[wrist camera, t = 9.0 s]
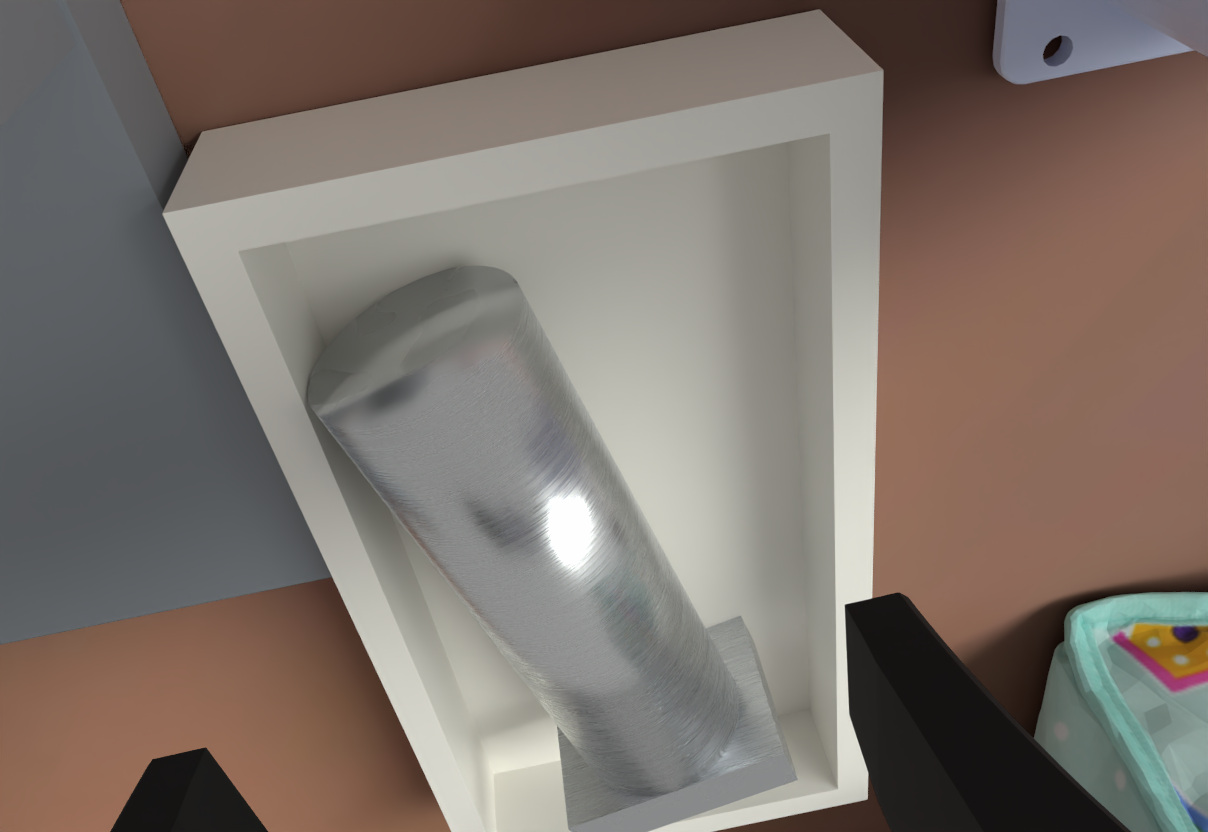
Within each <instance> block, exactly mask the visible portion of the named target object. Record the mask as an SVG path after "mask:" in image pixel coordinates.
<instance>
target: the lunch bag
mask: <svg viewBox="0 0 1208 832" xmlns="http://www.w3.org/2000/svg"><path fill="white" fill-rule="evenodd" d="M1064 630H1065V641H1063V642H1062V643H1060V644H1059V645H1058V646H1057V648H1056V649H1055V651H1054V655H1053V658H1052V662H1051V666H1050V670H1049V674H1048V678H1047V683H1046V688H1045V693H1044V698H1043V703H1042V707H1041V710H1040V713H1039V717H1038V722H1037V726H1036V731H1035V735H1034V739H1035V740H1036V741H1037V742H1038V743H1039V744H1040V745H1041V746H1042V747H1043V748H1044V749H1045V750H1046V751H1047V752H1048V753H1049V754H1050V755H1051V756H1052V757H1053V758H1054V759H1055V760H1056V761H1057V762H1058V763H1059V764H1060V765H1061V766H1062V767H1063V768H1064V769H1065V770H1066V771H1067V772H1068V773H1069V774H1070V775H1071V776H1072V777H1073V778H1074V779H1075V780H1076V781H1077V782H1078V783H1079V784H1080V785H1081V786H1082V787H1083V788H1085V789H1086V790H1087V791H1088V792H1089V793H1090V794H1091V795H1092V796H1093V797H1094V798H1095V799H1096V800H1097V801H1098V802H1100V803H1101V804H1102V805H1103V806H1104V807H1105V808H1106V809H1107V810H1108V811H1109V812H1110V813H1112V814H1113V815H1114V816H1115V817H1116V818H1117V819H1118V820H1119V821H1120V822H1121V823H1122V824H1123V825H1125V826H1126V827H1127V828H1128V829H1129V830H1130V831H1131V832H1208V592H1150V593H1137V594H1124V595H1116V596H1110V597H1106V598H1103V599H1099V600H1096V601H1092V602H1089V603H1085V604H1082V605H1078V606H1076V607H1074V608H1073V609H1071V610H1070V611H1069V612H1068V613H1067V616H1066V618H1065V621H1064Z"/></svg>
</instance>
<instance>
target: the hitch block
mask: <svg viewBox="0 0 1208 832" xmlns="http://www.w3.org/2000/svg"><path fill="white" fill-rule="evenodd" d="M187 161H188V157H187V155H186V152H185V150H184V148H183V146H182V143H181V141H180V139H179V136H178V134H177V132H176V129H175V127H174V125H173V122H172V120H171V118H170V116H169V113H168V111H167V109H166V106H165V104H164V102H163V99H162V97H161V95H160V93H159V90H158V88H157V86H156V83H155V81H154V79H153V76H152V74H151V72H150V70H149V67H148V65H147V63H146V60H145V58H144V56H143V53H142V51H141V49H140V46H139V44H138V42H137V40H136V37H135V35H134V33H133V30H132V28H131V26H130V23H129V21H128V19H127V17H126V14H125V12H124V10H123V7H122V5H121V3H120V0H0V645H1V644H6V643H11V642H16V641H21V640H26V639H30V638H35V637H40V636H45V635H50V634H55V633H60V632H65V631H70V630H75V629H80V628H85V627H90V626H95V625H99V624H104V623H109V622H114V621H119V620H124V619H129V618H134V617H139V616H144V615H149V614H154V613H159V612H163V611H168V610H173V609H178V608H183V607H188V606H193V605H198V604H203V603H208V602H213V601H218V600H223V599H228V598H232V597H237V596H242V595H247V594H252V593H257V592H262V591H267V590H272V589H277V588H282V587H287V586H292V585H297V584H301V583H306V582H311V581H316V580H321V579H326V578H331V577H332V575H331V573H330V571H329V569H328V567H327V565H326V563H325V560H324V558H323V556H322V554H321V552H320V550H319V548H318V545H317V543H316V541H315V539H314V537H313V535H312V533H311V531H310V528H309V526H308V524H307V522H306V520H305V518H304V516H303V513H302V511H301V509H300V507H299V505H298V503H297V501H296V498H295V496H294V494H293V492H292V490H291V488H290V486H289V484H288V481H287V479H286V477H285V475H284V473H283V471H282V469H281V466H280V464H279V462H278V460H277V458H276V456H275V454H274V452H273V449H272V447H271V445H270V443H269V441H268V439H267V437H266V434H265V432H264V430H263V428H262V426H261V424H260V422H259V419H258V417H257V415H256V413H255V411H254V409H253V407H252V405H251V402H250V400H249V398H248V396H247V394H246V392H245V390H244V387H243V385H242V383H241V381H240V379H239V377H238V375H237V372H236V370H235V368H234V366H233V364H232V362H231V360H230V358H229V355H228V353H227V351H226V349H225V347H224V345H223V343H222V340H221V338H220V336H219V334H218V332H217V330H216V328H215V326H214V323H213V321H212V319H211V317H210V315H209V313H208V311H207V308H206V306H205V304H204V302H203V300H202V298H201V296H200V293H199V291H198V289H197V287H196V285H195V283H194V281H193V279H192V276H191V274H190V272H189V270H188V268H187V266H186V264H185V261H184V259H183V257H182V255H181V253H180V251H179V249H178V246H177V244H176V242H175V240H174V238H173V236H172V234H171V232H170V229H169V227H168V225H167V223H166V221H165V219H164V217H163V214H162V213H163V211H164V209H165V207H166V205H167V203H168V201H169V199H170V196H171V194H172V192H173V190H174V188H175V186H176V184H177V182H178V180H179V178H180V176H181V174H182V172H183V170H184V168H185V166H186V163H187Z"/></svg>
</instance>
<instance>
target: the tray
mask: <svg viewBox="0 0 1208 832" xmlns="http://www.w3.org/2000/svg"><path fill="white" fill-rule="evenodd" d="M883 73H884V70H883V69H882V68H881V67H880V66H879V65H878V64H876V63H875V62H874V61H873V60H872V59H871V58H870V57H869V56H868V55H867V54H866V53H865V52H864V51H863V50H862V49H861V48H860V47H859V46H858V45H857V44H856V43H854V42H853V41H852V40H851V39H850V38H849V37H848V36H847V35H846V34H845V33H844V32H843V31H842V30H841V29H840V28H839V27H838V26H837V25H836V24H835V23H833V22H832V21H831V20H830V19H829V18H828V17H827V16H826V15H825V14H824V13H823V12H822V11H821V10H820V9H818V10H813V11H808V12H803V13H798V14H793V15H788V16H783V17H778V18H773V19H768V20H763V21H758V22H753V23H748V24H743V25H738V26H733V27H727V28H722V29H717V30H712V31H707V32H702V33H697V34H692V35H687V36H682V37H677V38H672V39H667V40H662V41H657V42H652V43H647V44H642V45H637V46H632V47H627V48H621V49H616V50H611V51H606V52H601V53H596V54H591V55H586V56H581V57H576V58H571V59H566V60H561V61H556V62H551V63H546V64H541V65H536V66H531V67H526V68H521V69H515V70H510V71H505V72H500V73H495V74H490V75H485V76H480V77H475V78H470V79H465V80H460V81H455V82H450V83H445V84H440V85H435V86H430V87H425V88H420V89H415V90H409V91H404V92H399V93H394V94H389V95H384V96H379V97H374V98H369V99H364V100H359V101H354V102H349V103H344V104H339V105H334V106H329V107H324V108H319V109H314V110H308V111H303V112H298V113H293V114H288V115H283V116H278V117H273V118H268V119H263V120H258V121H253V122H248V123H243V124H238V125H233V126H228V127H223V128H218V129H213V130H208V131H202V133H201V135H200V137H199V139H198V141H197V143H196V145H195V147H194V149H193V151H192V153H191V155H190V157H189V159H188V161H187V163H186V166H185V168H184V170H183V172H182V174H181V176H180V178H179V180H178V182H177V184H176V186H175V188H174V190H173V192H172V194H171V196H170V199H169V201H168V203H167V205H166V207H165V209H164V211H163V213H162V214H163V217H164V219H165V221H166V223H167V225H168V227H169V229H170V232H171V234H172V236H173V238H174V240H175V242H176V244H177V246H178V249H179V251H180V253H181V255H182V257H183V259H184V261H185V264H186V266H187V268H188V270H189V272H190V274H191V276H192V279H193V281H194V283H195V285H196V287H197V289H198V291H199V293H200V296H201V298H202V300H203V302H204V304H205V306H206V308H207V311H208V313H209V315H210V317H211V319H212V321H213V323H214V326H215V328H216V330H217V332H218V334H219V336H220V338H221V340H222V343H223V345H224V347H225V349H226V351H227V353H228V355H229V358H230V360H231V362H232V364H233V366H234V368H235V370H236V372H237V375H238V377H239V379H240V381H241V383H242V385H243V387H244V390H245V392H246V394H247V396H248V398H249V400H250V402H251V405H252V407H253V409H254V411H255V413H256V415H257V417H258V419H259V422H260V424H261V426H262V428H263V430H264V432H265V434H266V437H267V439H268V441H269V443H270V445H271V447H272V449H273V452H274V454H275V456H276V458H277V460H278V462H279V464H280V466H281V469H282V471H283V473H284V475H285V477H286V479H287V481H288V484H289V486H290V488H291V490H292V492H293V494H294V496H295V498H296V501H297V503H298V505H299V507H300V509H301V511H302V513H303V516H304V518H305V520H306V522H307V524H308V526H309V528H310V531H311V533H312V535H313V537H314V539H315V541H316V543H317V545H318V548H319V550H320V552H321V554H322V556H323V558H324V560H325V563H326V565H327V567H328V569H329V571H330V573H331V575H332V577H333V580H334V582H335V584H336V586H337V588H338V590H339V592H340V595H341V597H342V599H343V601H344V603H345V605H346V607H347V610H348V612H349V614H350V616H351V618H352V620H353V622H354V624H355V627H356V629H357V631H358V633H359V635H360V637H361V639H362V642H363V644H364V646H365V648H366V650H367V652H368V654H369V657H370V659H371V661H372V663H373V665H374V667H375V669H376V671H377V674H378V676H379V678H380V680H381V682H382V684H383V686H384V689H385V691H386V693H387V695H388V697H389V699H390V701H391V703H392V706H393V708H394V710H395V712H396V714H397V716H398V718H399V721H400V723H401V725H402V727H403V729H404V731H405V733H406V736H407V738H408V740H409V742H410V744H411V746H412V748H413V750H414V753H415V755H416V757H417V759H418V761H419V763H420V765H421V768H422V770H423V772H424V774H425V776H426V778H427V780H428V782H429V785H430V787H431V789H432V791H433V793H434V795H435V797H436V800H437V802H438V804H439V806H440V808H441V810H442V812H443V815H444V817H445V819H446V821H447V823H448V825H449V827H450V829H451V832H571V831H570V830H569V829H568V822H567V813H566V804H565V795H564V785H563V776H562V767H561V758H560V749H559V740H558V731H557V724H556V723H555V722H554V720H553V719H552V718H551V716H550V715H549V714H548V713H547V711H546V710H545V709H544V707H543V706H542V705H541V704H540V702H539V701H538V700H537V698H536V697H535V696H534V695H533V693H532V692H531V691H530V689H529V688H528V687H527V686H526V684H525V683H524V682H523V680H522V679H521V678H520V677H519V675H518V674H517V673H516V671H515V670H514V669H513V668H512V666H511V665H510V664H509V662H508V661H507V660H506V659H505V657H504V656H503V655H502V653H501V652H500V651H499V649H498V648H497V647H496V646H495V644H494V643H493V642H492V640H491V639H490V638H489V637H488V635H487V634H486V633H485V631H484V630H483V629H482V628H481V626H480V625H479V624H478V622H477V621H476V620H475V619H474V617H473V616H472V615H471V613H470V612H469V611H468V610H467V608H466V607H465V606H464V604H463V603H462V602H461V601H460V599H459V598H458V597H457V595H456V594H455V593H454V592H453V590H452V589H451V588H450V586H449V585H448V584H447V582H446V581H445V580H444V579H443V577H442V576H441V575H440V573H439V572H438V571H437V570H436V568H435V567H434V566H433V564H432V563H431V562H430V561H429V559H428V558H427V557H426V555H425V554H424V553H423V552H422V550H421V549H420V548H419V546H418V545H417V544H416V543H415V541H414V540H413V539H412V537H411V536H410V535H409V534H408V532H407V531H406V530H405V528H404V527H403V526H402V525H401V523H400V522H399V521H398V519H397V518H396V517H395V516H394V514H393V513H392V512H391V510H390V509H389V508H388V506H387V505H386V504H385V503H384V501H383V500H382V499H381V497H380V496H379V495H378V494H377V492H376V491H375V490H374V488H373V487H372V486H371V485H370V483H369V482H368V481H367V479H366V478H365V477H364V476H363V474H362V473H361V472H360V470H359V469H358V468H357V467H356V465H355V464H354V463H353V461H352V460H351V459H350V458H349V456H348V455H347V454H346V452H345V451H344V450H343V449H342V447H341V446H340V445H339V443H338V442H337V441H336V439H335V438H334V437H333V436H332V434H331V433H330V432H329V430H328V429H327V428H326V427H325V425H324V424H323V423H322V421H321V420H320V419H319V418H318V416H317V415H316V414H315V412H314V411H313V410H312V408H311V406H310V404H309V400H308V385H309V381H310V377H311V374H312V372H313V370H314V367H315V365H316V364H317V362H318V360H319V358H320V357H321V355H322V354H323V352H324V351H325V350H326V348H327V347H328V346H329V344H330V343H331V342H332V341H333V340H334V339H335V337H336V336H337V335H338V334H339V333H340V332H341V331H342V330H343V329H344V328H345V327H346V326H347V325H348V324H350V323H351V322H352V321H353V320H354V319H355V318H356V317H358V316H359V315H360V314H361V313H363V312H364V311H365V310H366V309H368V308H369V307H371V306H372V305H373V304H375V303H376V302H378V301H379V300H381V299H383V298H384V297H386V296H387V295H389V294H391V293H392V292H394V291H396V290H398V289H400V288H402V287H404V286H406V285H408V284H410V283H412V282H414V281H416V280H419V279H421V278H424V277H426V276H429V275H432V274H435V273H438V272H441V271H445V270H449V269H453V268H459V267H465V266H489V267H495V268H498V269H501V270H504V271H505V272H507V273H509V274H510V275H512V276H513V277H514V278H515V279H516V281H517V283H518V284H519V286H520V288H521V290H522V292H523V294H524V295H525V297H526V299H527V301H528V303H529V305H530V306H531V308H532V310H533V312H534V314H535V316H536V317H537V319H538V321H539V323H540V325H541V327H542V328H543V330H544V332H545V334H546V336H547V338H548V339H549V341H550V343H551V345H552V347H553V349H554V350H555V352H556V354H557V356H558V358H559V360H560V361H561V363H562V365H563V367H564V369H565V371H566V372H567V374H568V376H569V378H570V380H571V382H572V383H573V385H574V387H575V389H576V391H577V393H578V394H579V396H580V398H581V400H582V402H583V404H584V405H585V407H586V409H587V411H588V413H589V415H590V416H591V418H592V420H593V422H594V424H595V426H596V428H597V429H598V431H599V433H600V435H601V437H602V439H603V440H604V442H605V444H606V446H607V448H608V450H609V451H610V453H611V455H612V457H613V459H614V461H615V462H616V464H617V466H618V468H619V470H620V472H621V473H622V475H623V477H624V479H625V481H626V483H627V484H628V486H629V488H630V490H631V492H632V494H633V495H634V497H635V499H636V501H637V503H638V505H639V506H640V508H641V510H642V512H643V514H644V516H645V517H646V519H647V521H648V523H649V525H650V527H651V528H652V530H653V532H654V534H655V536H656V538H657V539H658V541H659V543H660V545H661V547H662V549H663V550H664V552H665V554H666V556H667V558H668V560H669V561H670V563H671V565H672V567H673V569H674V571H675V572H676V574H677V576H678V578H679V580H680V582H681V583H682V585H683V587H684V589H685V591H686V593H687V594H688V596H689V598H690V600H691V602H692V604H693V606H694V607H695V609H696V611H697V613H698V615H699V617H700V618H701V620H702V622H703V624H704V626H705V628H708V627H711V626H714V625H717V624H719V623H722V622H725V621H727V620H730V619H733V618H735V617H738V616H741V617H742V619H743V621H744V623H745V625H746V627H747V629H748V631H749V633H750V635H751V637H752V639H753V641H754V643H755V646H756V649H757V652H758V655H759V658H760V661H761V665H762V668H763V671H764V674H765V677H766V680H767V683H768V687H769V690H770V693H771V696H772V699H773V702H774V705H775V709H776V712H777V715H778V718H779V721H780V724H781V728H782V731H783V734H784V737H785V740H786V743H787V746H788V750H789V753H790V756H791V759H792V762H793V765H794V768H795V772H796V775H797V778H798V780H796V781H794V782H791V783H788V784H785V785H782V786H779V787H776V788H773V789H770V790H767V791H765V792H762V793H759V794H756V795H753V796H750V797H747V798H744V799H741V800H738V801H736V802H733V803H730V804H727V805H724V806H721V807H718V808H715V809H712V810H709V811H707V812H704V813H701V814H698V815H695V816H692V817H689V818H686V819H683V820H680V821H678V822H675V823H672V824H669V825H666V826H663V827H660V828H657V829H654V830H651V831H649V832H713V831H718V830H723V829H728V828H732V827H737V826H742V825H747V824H752V823H757V822H762V821H766V820H771V819H776V818H781V817H786V816H791V815H795V814H800V813H805V812H810V811H815V810H820V809H824V808H829V807H834V806H839V805H844V804H849V803H854V802H858V801H863V800H868V770H867V767H866V764H865V761H864V758H863V755H862V752H861V749H860V746H859V743H858V740H857V737H856V734H855V731H854V728H853V725H852V722H851V718H850V715H849V698H848V674H847V650H846V626H845V604H850V603H854V602H858V601H863V600H867V599H872V578H873V532H874V486H875V440H876V394H877V348H878V302H879V256H880V210H881V165H882V119H883Z"/></svg>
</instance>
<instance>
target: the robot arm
mask: <svg viewBox="0 0 1208 832" xmlns="http://www.w3.org/2000/svg"><path fill="white" fill-rule="evenodd" d="M1058 36H1061V38H1062V42H1061V45H1060V48H1059V50H1058V51H1057V52H1056V53H1055V54H1054V55H1053V56H1051V57H1049V58H1047V59H1043V52H1044V49H1045V47H1046V45H1047V44H1048V43H1049V42H1050V41H1051V40H1052V39H1053V38H1056V37H1058ZM1194 50H1195V51H1197V52H1199V53H1201V54H1203V55H1205V56H1206V57H1208V0H998V1H997V12H996V23H995V35H994V46H993V64H994V67H995V69H996V70H997V72H998V74H999V75H1001V76H1002V77H1003V78H1005V79H1006V80H1008V81H1010V82H1012V83H1014V84H1028V83H1033V82H1039V81H1044V80H1049V79H1054V78H1059V77H1064V76H1069V75H1074V74H1079V73H1084V72H1089V71H1094V70H1099V69H1104V68H1109V67H1114V66H1119V65H1124V64H1129V63H1134V62H1139V61H1144V60H1149V59H1154V58H1159V57H1164V56H1169V55H1174V54H1179V53H1184V52H1189V51H1194ZM845 626H846V650H847V674H848V698H849V715H850V718H851V722H852V725H853V728H854V731H855V734H856V737H857V740H858V743H859V746H860V749H861V752H862V755H863V758H864V761H865V764H866V767H867V770H868V773H869V776H870V779H871V782H872V785H873V788H874V791H875V794H876V796H877V799H878V802H879V805H880V807H881V809H882V811H883V814H884V816H885V818H886V820H887V823H888V825H889V827H890V829H891V832H1131V831H1130V830H1129V829H1128V828H1127V827H1126V826H1125V825H1123V824H1122V823H1121V822H1120V821H1119V820H1118V819H1117V818H1116V817H1115V816H1114V815H1113V814H1112V813H1110V812H1109V811H1108V810H1107V809H1106V808H1105V807H1104V806H1103V805H1102V804H1101V803H1100V802H1098V801H1097V800H1096V799H1095V798H1094V797H1093V796H1092V795H1091V794H1090V793H1089V792H1088V791H1087V790H1086V789H1085V788H1083V787H1082V786H1081V785H1080V784H1079V783H1078V782H1077V781H1076V780H1075V779H1074V778H1073V777H1072V776H1071V775H1070V774H1069V773H1068V772H1067V771H1066V770H1065V769H1064V768H1063V767H1062V766H1061V765H1060V764H1059V763H1058V762H1057V761H1056V760H1055V759H1054V758H1053V757H1052V756H1051V755H1050V754H1049V753H1048V752H1047V751H1046V750H1045V749H1044V748H1043V747H1042V746H1041V745H1040V744H1039V743H1038V742H1037V741H1036V740H1035V739H1034V738H1033V737H1032V736H1031V735H1030V734H1029V733H1028V732H1027V731H1026V730H1025V729H1024V728H1023V727H1022V726H1021V725H1020V724H1019V723H1018V722H1017V721H1016V720H1015V719H1014V718H1013V717H1012V716H1011V715H1010V714H1009V713H1008V712H1007V711H1006V710H1005V709H1004V707H1003V706H1002V705H1001V704H1000V703H999V702H998V701H997V700H996V699H995V698H994V697H993V696H992V695H991V694H990V693H989V691H988V690H987V689H986V688H985V687H984V686H983V685H982V684H981V683H980V682H979V680H978V679H977V678H976V677H975V676H974V675H973V674H972V673H971V672H970V671H969V669H968V668H967V667H966V666H965V665H964V664H963V663H962V662H961V660H960V659H959V658H958V657H957V656H956V655H955V654H954V652H953V651H952V650H951V649H950V648H949V647H948V646H947V644H946V643H945V642H944V641H943V640H942V638H941V637H940V636H939V635H938V634H937V633H936V631H935V630H934V629H933V628H932V626H931V625H930V624H929V623H928V622H927V620H926V619H925V618H924V617H923V616H922V614H921V613H920V612H919V611H918V609H917V608H916V607H915V605H914V604H913V603H912V602H911V600H910V599H909V598H908V597H906V596H905V595H903V594H901V593H894V594H890V595H885V596H881V597H876V598H872V599H867V600H863V601H858V602H854V603H850V604H845ZM110 832H268V831H267V830H266V828H265V827H264V825H263V824H262V823H261V821H260V820H259V819H258V817H257V816H256V815H255V813H254V812H253V811H252V809H251V808H250V806H249V805H248V804H247V802H246V801H245V800H244V798H243V797H242V796H241V794H240V793H239V792H238V790H237V789H236V787H235V786H234V785H233V783H232V782H231V781H230V779H229V778H228V777H227V775H226V774H225V773H224V771H223V770H222V768H221V767H220V766H219V764H218V763H217V762H216V760H215V759H214V758H213V756H212V755H211V754H210V752H209V751H208V749H207V748H201V749H197V750H192V751H188V752H184V753H179V754H175V755H170V756H166V757H161V758H157V759H152V761H151V762H150V764H149V765H148V767H147V769H146V770H145V772H144V774H143V775H142V777H141V779H140V781H139V782H138V784H137V786H136V787H135V789H134V791H133V793H132V794H131V796H130V798H129V800H128V801H127V803H126V805H125V807H124V808H123V810H122V812H121V814H120V815H119V817H118V819H117V821H116V822H115V824H114V826H113V828H112V829H111V831H110Z"/></svg>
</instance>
